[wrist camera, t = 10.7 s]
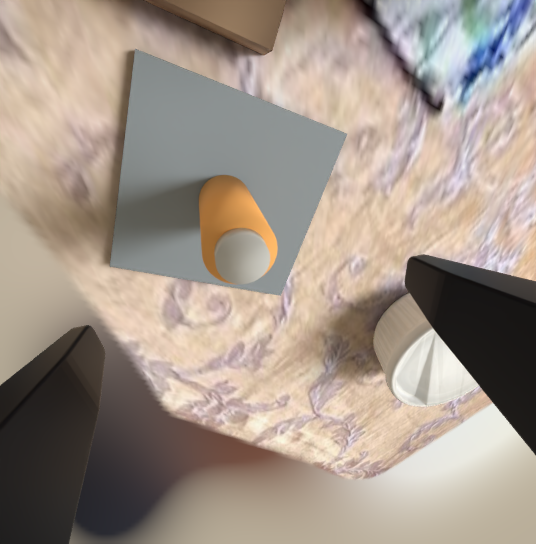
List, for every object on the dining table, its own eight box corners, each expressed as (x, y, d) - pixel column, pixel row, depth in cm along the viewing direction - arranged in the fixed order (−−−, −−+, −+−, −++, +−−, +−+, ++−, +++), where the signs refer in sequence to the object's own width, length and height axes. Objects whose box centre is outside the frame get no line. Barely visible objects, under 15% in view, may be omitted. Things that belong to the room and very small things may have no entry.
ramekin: (339, 332, 28) (367, 377, 23) (441, 250, 26) (493, 283, 21) (395, 379, 33) (426, 423, 29) (482, 315, 31) (531, 352, 27)
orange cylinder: (256, 183, 19) (293, 233, 12) (242, 230, 20) (267, 299, 13) (205, 168, 18) (213, 213, 11) (193, 218, 19) (194, 287, 12)
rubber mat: (343, 132, 19) (347, 133, 18) (278, 291, 24) (280, 295, 23) (137, 50, 15) (135, 48, 14) (111, 262, 20) (109, 266, 19)
